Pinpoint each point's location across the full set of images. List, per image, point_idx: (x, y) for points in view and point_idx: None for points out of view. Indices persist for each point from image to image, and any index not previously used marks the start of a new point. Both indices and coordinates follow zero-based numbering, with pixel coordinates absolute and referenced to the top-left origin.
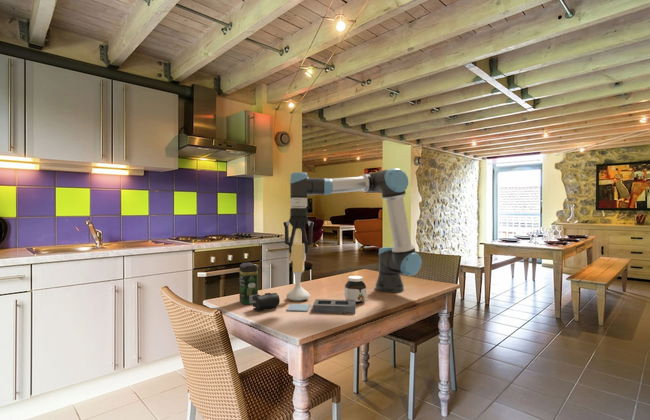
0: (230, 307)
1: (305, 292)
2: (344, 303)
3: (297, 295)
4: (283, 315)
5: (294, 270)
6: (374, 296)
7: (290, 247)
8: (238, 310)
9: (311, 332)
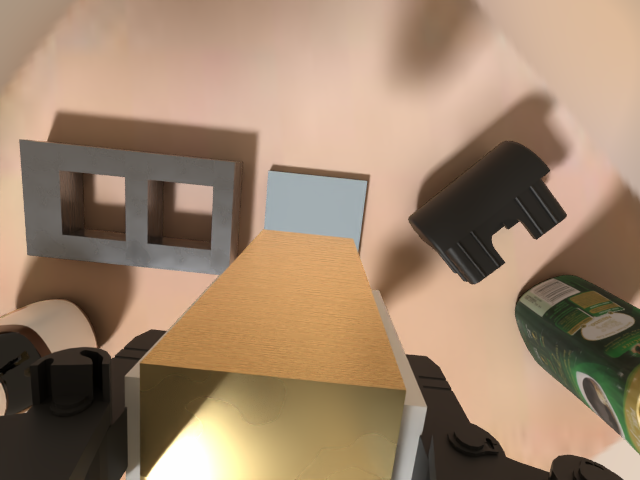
0: (635, 238)
1: None
2: (88, 234)
3: None
4: (374, 113)
5: (336, 239)
6: None
7: (439, 415)
8: (592, 191)
9: None
